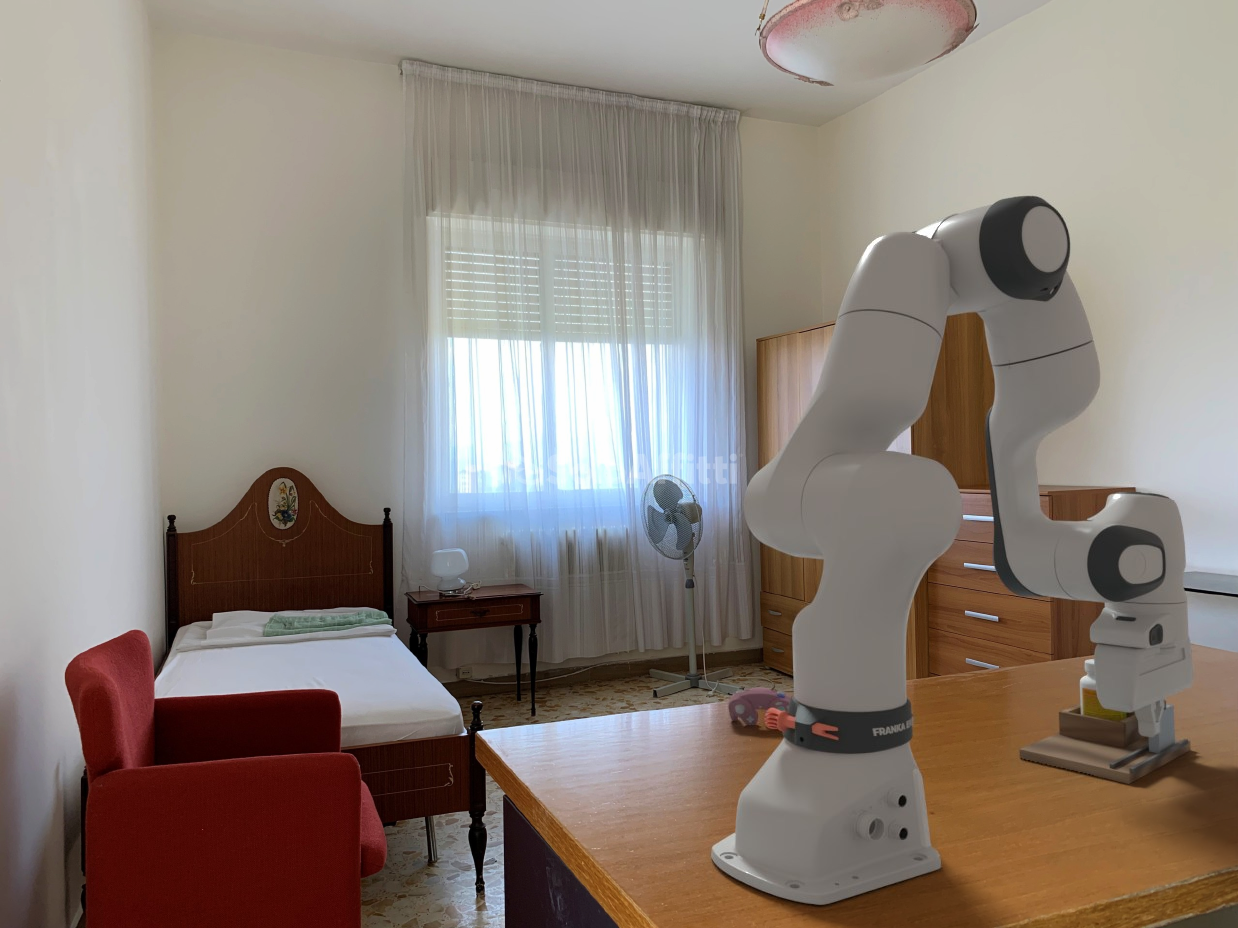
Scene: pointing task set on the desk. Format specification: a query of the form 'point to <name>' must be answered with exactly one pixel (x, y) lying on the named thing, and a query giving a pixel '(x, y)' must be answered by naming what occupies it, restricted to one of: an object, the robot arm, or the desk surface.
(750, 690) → the video game controller
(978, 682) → the desk surface
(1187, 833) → the desk surface
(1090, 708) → the supplement bottle
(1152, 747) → the cover panel
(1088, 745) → the board
